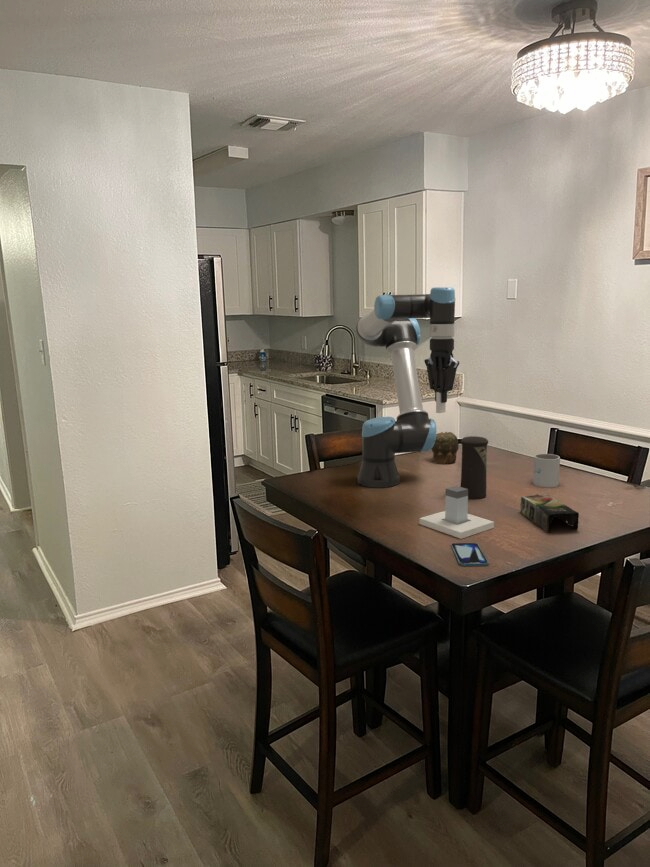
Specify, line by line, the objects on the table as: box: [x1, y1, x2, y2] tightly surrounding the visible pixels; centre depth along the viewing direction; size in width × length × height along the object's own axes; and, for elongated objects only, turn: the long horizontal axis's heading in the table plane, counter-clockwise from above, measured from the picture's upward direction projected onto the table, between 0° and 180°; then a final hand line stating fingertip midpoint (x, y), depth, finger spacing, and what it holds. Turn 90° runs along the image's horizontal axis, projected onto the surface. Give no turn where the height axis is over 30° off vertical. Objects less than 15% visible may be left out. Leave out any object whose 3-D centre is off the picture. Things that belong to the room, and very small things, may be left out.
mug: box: [532, 453, 561, 488], centre depth 234 cm, size 12×9×10 cm
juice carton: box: [519, 493, 580, 534], centre depth 194 cm, size 20×10×6 cm, turn 8°
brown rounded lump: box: [431, 431, 459, 465], centre depth 267 cm, size 11×11×12 cm
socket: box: [419, 510, 495, 540], centre depth 192 cm, size 16×14×2 cm
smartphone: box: [450, 542, 490, 567], centre depth 170 cm, size 7×1×15 cm
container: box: [460, 435, 489, 500], centre depth 219 cm, size 9×9×20 cm
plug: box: [444, 485, 469, 525], centre depth 191 cm, size 4×4×11 cm
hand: (440, 412), depth 210 cm, fingers closed
